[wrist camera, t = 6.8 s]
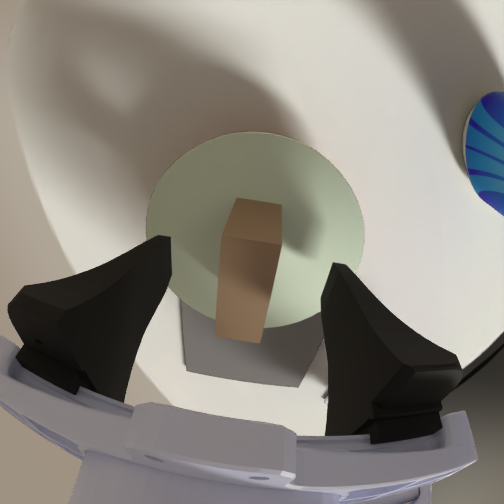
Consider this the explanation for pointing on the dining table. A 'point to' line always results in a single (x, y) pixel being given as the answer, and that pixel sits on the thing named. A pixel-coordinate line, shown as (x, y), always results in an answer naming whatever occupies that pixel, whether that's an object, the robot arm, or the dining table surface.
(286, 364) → the mat
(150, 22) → the dining table surface
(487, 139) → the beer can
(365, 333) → the robot arm
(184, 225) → the lid
